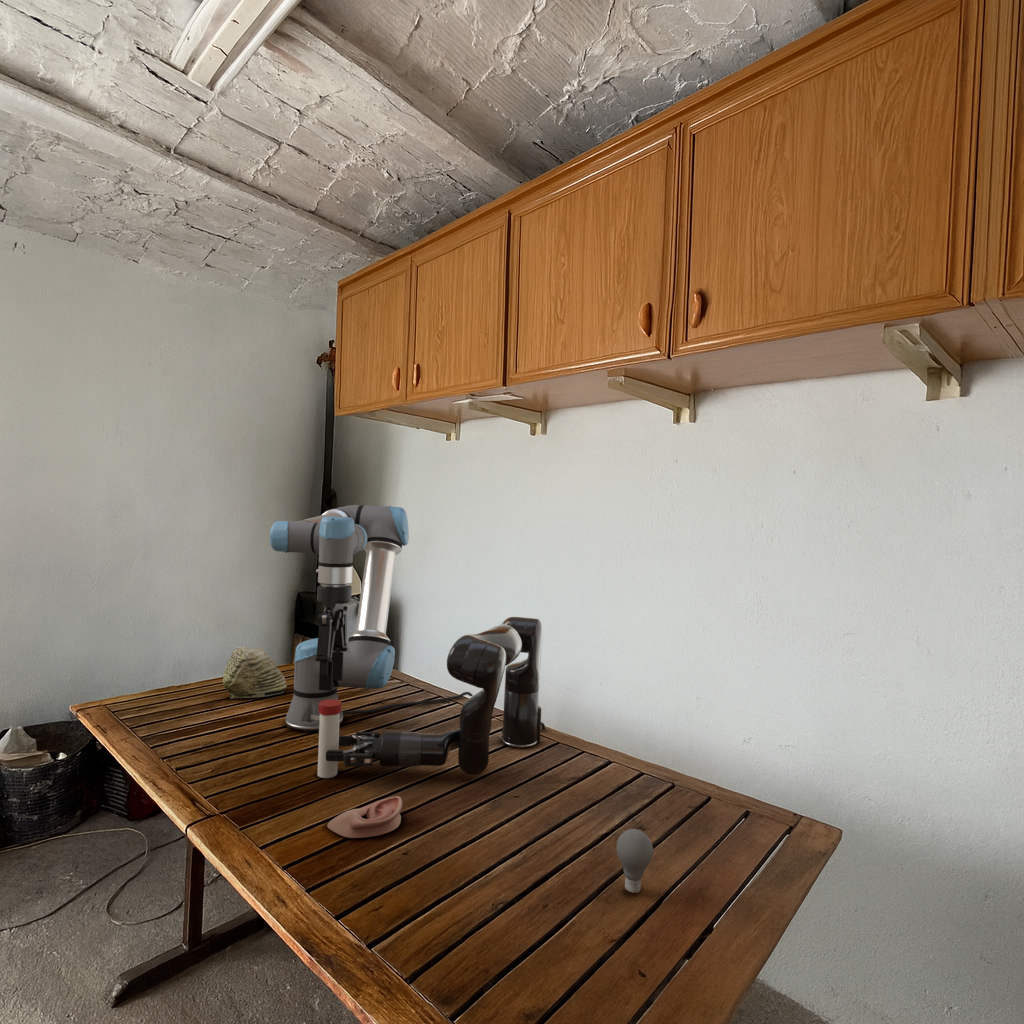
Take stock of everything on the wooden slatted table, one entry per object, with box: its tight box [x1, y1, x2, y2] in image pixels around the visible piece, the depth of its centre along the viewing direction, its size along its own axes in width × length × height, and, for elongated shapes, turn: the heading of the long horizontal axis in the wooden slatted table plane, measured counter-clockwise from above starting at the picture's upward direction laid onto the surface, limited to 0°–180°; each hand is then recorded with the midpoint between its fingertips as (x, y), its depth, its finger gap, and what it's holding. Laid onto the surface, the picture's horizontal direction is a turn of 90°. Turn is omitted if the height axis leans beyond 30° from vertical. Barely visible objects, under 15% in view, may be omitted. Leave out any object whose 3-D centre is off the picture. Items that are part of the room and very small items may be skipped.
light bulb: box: [615, 828, 654, 894], centre depth 106 cm, size 6×6×10 cm
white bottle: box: [317, 713, 340, 779], centre depth 145 cm, size 4×4×16 cm
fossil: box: [222, 646, 288, 699], centre depth 198 cm, size 9×18×15 cm, turn 132°
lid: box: [319, 699, 343, 715], centre depth 145 cm, size 5×5×2 cm
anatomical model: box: [327, 795, 403, 839], centre depth 123 cm, size 13×4×12 cm
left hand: (331, 684), depth 144 cm, fingers open, 7 cm apart
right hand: (330, 747), depth 145 cm, fingers open, 8 cm apart
